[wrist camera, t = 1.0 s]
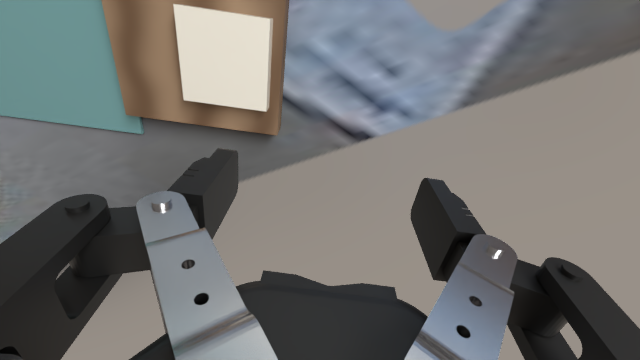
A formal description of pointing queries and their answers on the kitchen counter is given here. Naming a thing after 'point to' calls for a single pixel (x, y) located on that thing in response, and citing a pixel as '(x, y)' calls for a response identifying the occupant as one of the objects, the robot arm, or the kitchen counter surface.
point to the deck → (164, 67)
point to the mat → (60, 65)
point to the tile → (224, 57)
